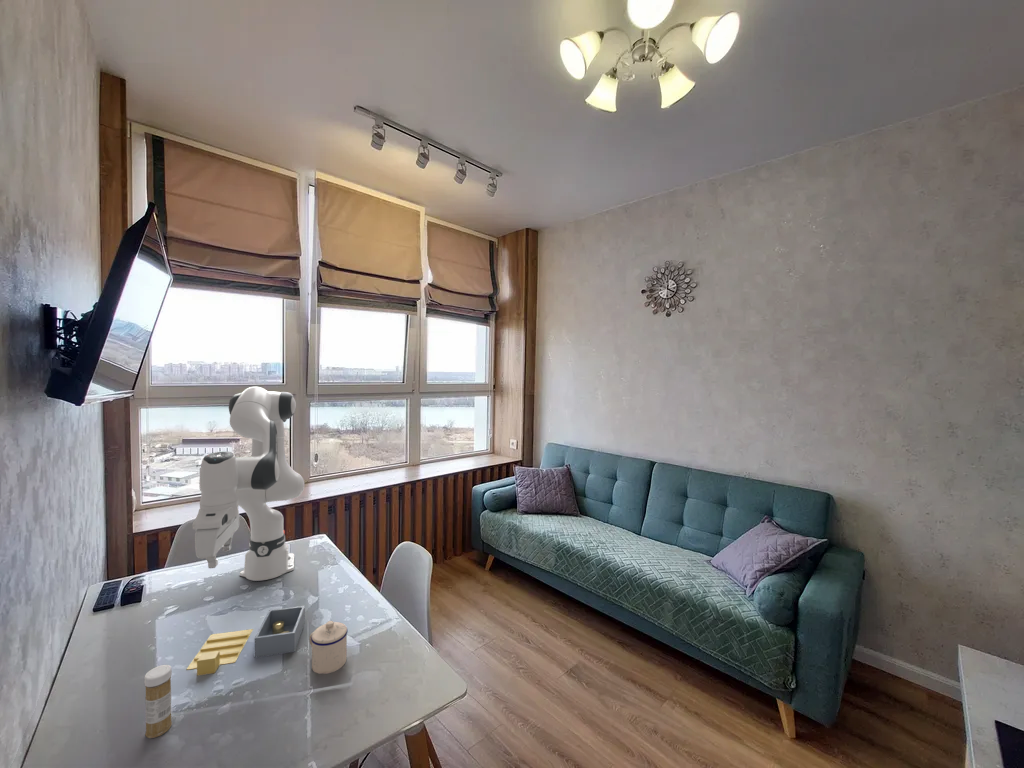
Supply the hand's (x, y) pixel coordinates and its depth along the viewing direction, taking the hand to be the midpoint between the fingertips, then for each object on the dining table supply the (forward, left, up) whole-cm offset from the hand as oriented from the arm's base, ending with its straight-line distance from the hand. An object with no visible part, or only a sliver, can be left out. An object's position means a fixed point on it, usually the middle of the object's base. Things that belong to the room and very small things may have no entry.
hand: (220, 558), depth 117 cm
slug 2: (+3, +17, -26) cm, 31 cm away
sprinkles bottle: (+27, -2, -27) cm, 38 cm away
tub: (0, +16, -26) cm, 31 cm away
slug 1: (-3, +14, -26) cm, 30 cm away
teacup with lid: (+13, +30, -27) cm, 42 cm away
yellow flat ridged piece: (+1, +1, -26) cm, 27 cm away
